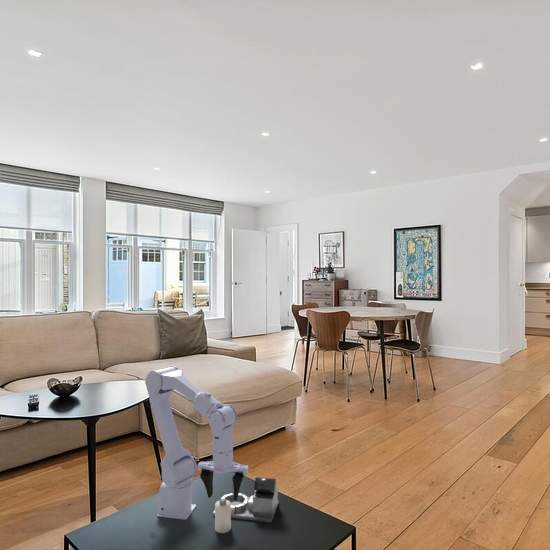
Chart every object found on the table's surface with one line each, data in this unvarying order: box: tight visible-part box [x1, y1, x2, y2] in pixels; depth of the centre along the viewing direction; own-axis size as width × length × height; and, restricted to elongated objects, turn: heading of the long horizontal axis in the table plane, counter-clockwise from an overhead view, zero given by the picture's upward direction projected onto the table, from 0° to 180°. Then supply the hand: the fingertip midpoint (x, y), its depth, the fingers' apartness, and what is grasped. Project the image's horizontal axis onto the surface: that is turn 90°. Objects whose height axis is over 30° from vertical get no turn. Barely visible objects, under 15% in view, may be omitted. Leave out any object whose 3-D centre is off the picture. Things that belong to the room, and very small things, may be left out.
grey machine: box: [212, 476, 280, 523], centre depth 132 cm, size 18×11×10 cm, turn 79°
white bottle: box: [214, 498, 232, 534], centre depth 122 cm, size 4×4×8 cm
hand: (223, 497), depth 122 cm, fingers open, 7 cm apart
